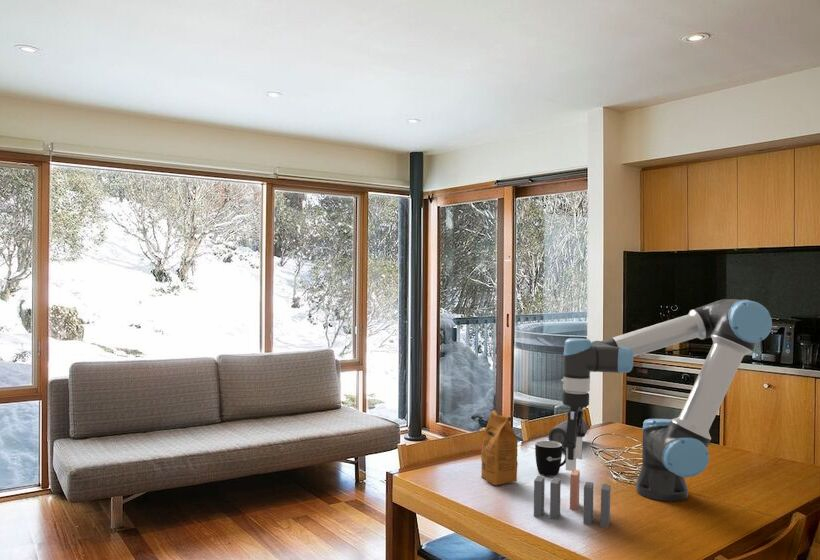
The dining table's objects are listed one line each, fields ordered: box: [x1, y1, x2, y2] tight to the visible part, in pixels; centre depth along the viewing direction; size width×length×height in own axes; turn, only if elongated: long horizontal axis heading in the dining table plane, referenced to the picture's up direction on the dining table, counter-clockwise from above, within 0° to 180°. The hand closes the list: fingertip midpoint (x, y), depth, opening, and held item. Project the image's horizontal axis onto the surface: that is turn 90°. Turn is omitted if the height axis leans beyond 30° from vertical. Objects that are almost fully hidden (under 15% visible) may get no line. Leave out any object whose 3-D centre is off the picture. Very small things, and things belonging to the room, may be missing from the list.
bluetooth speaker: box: [548, 419, 589, 450], centre depth 256 cm, size 23×9×10 cm, turn 147°
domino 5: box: [600, 483, 611, 528], centre depth 175 cm, size 2×5×10 cm, turn 158°
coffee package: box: [480, 410, 519, 486], centre depth 212 cm, size 10×12×22 cm
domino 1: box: [533, 475, 546, 518], centre depth 182 cm, size 2×5×10 cm, turn 158°
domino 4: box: [582, 481, 594, 526], centre depth 177 cm, size 2×5×10 cm, turn 158°
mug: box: [534, 440, 566, 477], centre depth 220 cm, size 12×9×10 cm
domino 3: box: [569, 469, 581, 511], centre depth 188 cm, size 2×5×10 cm, turn 158°
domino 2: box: [549, 477, 562, 521], centre depth 180 cm, size 2×5×10 cm, turn 158°
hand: (573, 464), depth 188 cm, fingers open, 13 cm apart
